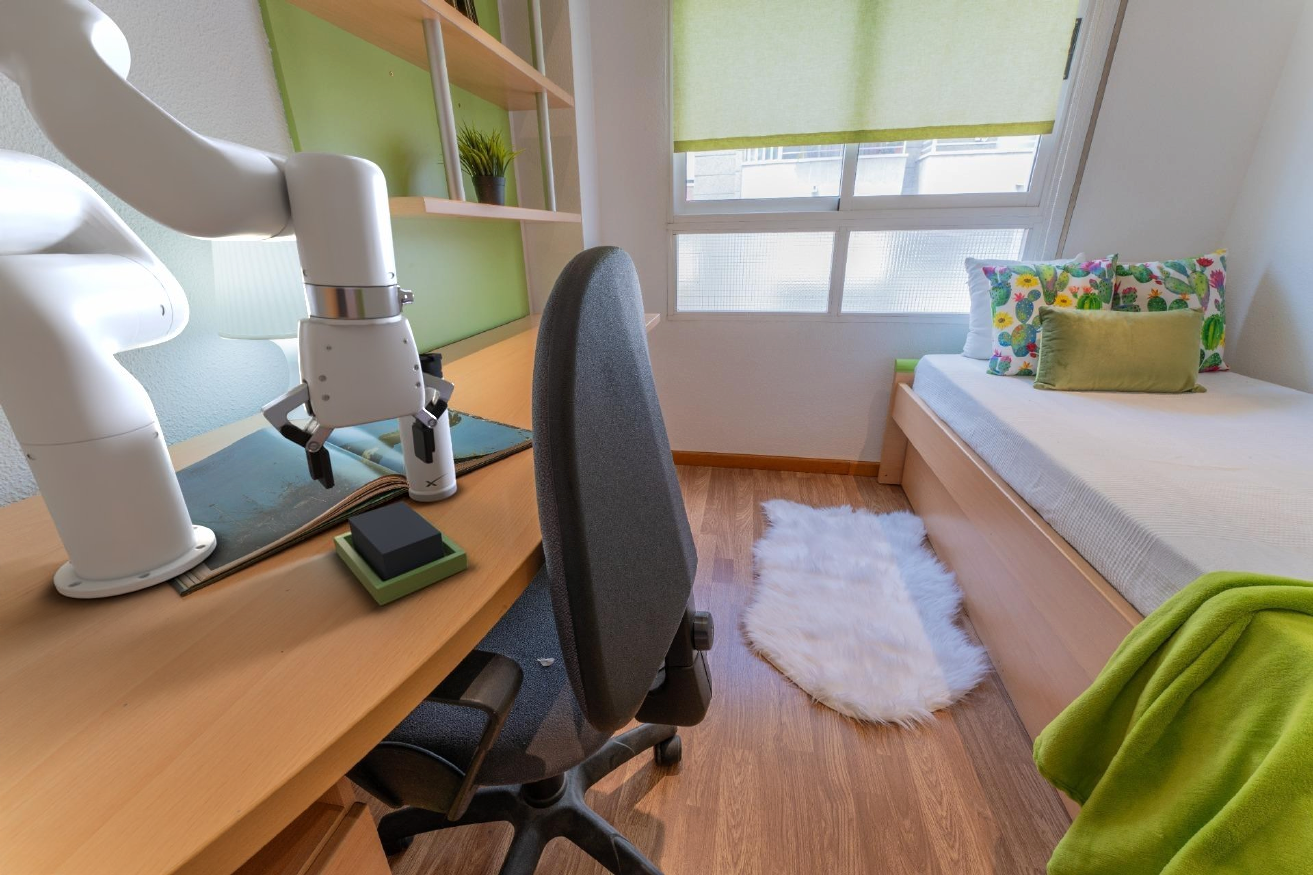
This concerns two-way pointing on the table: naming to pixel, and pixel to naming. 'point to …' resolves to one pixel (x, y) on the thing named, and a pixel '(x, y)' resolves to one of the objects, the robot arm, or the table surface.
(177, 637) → the table surface
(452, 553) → the frame
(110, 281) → the robot arm
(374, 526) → the dark gray block
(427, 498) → the travel mug
